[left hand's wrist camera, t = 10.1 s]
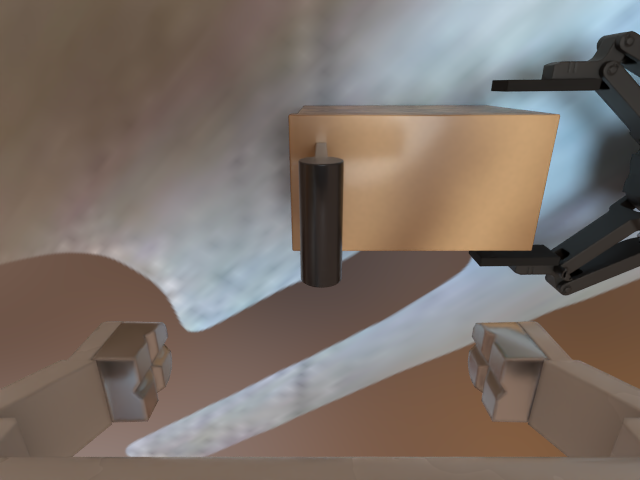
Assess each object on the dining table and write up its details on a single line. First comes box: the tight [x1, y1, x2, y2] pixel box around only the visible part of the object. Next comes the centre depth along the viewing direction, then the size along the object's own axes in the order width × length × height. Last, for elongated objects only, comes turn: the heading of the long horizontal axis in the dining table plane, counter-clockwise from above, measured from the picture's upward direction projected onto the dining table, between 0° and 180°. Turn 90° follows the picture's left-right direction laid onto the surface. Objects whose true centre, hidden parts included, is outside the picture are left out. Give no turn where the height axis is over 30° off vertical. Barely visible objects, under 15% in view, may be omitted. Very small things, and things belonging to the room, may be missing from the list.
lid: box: [289, 113, 560, 287], centre depth 23 cm, size 17×9×10 cm, turn 90°
